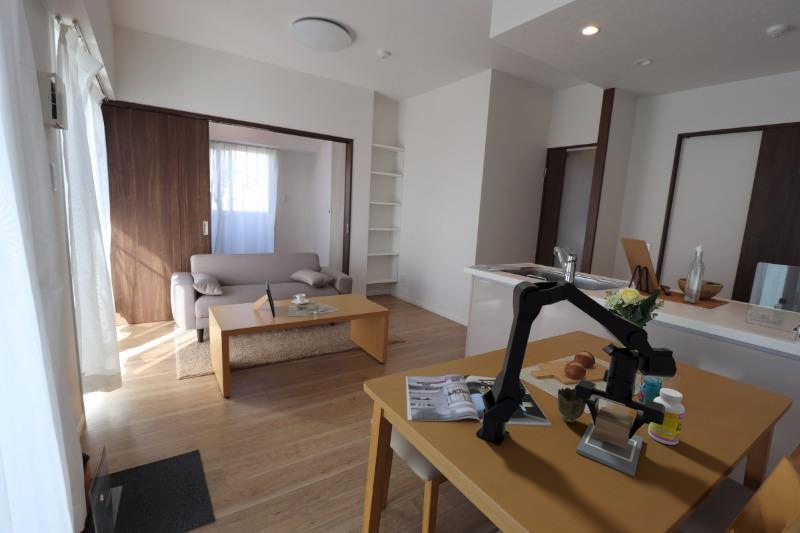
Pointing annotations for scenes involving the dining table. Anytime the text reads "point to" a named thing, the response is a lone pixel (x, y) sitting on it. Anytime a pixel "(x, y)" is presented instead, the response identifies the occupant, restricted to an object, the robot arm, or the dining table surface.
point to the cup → (570, 405)
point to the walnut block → (613, 427)
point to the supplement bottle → (668, 417)
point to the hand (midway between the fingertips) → (612, 432)
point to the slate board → (611, 451)
